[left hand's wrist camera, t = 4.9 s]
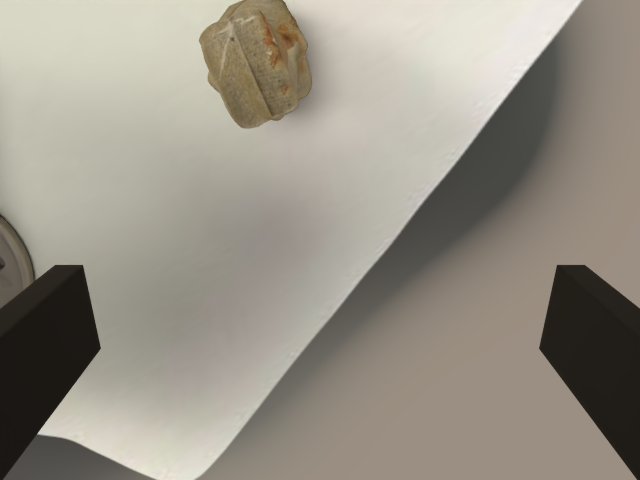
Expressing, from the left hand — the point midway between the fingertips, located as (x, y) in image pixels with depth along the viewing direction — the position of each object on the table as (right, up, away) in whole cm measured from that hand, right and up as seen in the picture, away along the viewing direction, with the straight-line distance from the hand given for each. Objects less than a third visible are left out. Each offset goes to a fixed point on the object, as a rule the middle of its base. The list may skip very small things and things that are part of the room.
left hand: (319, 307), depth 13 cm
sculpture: (-4, +16, +22) cm, 27 cm away
